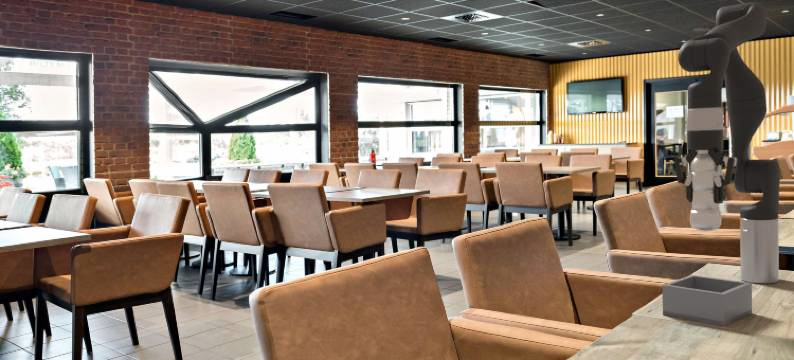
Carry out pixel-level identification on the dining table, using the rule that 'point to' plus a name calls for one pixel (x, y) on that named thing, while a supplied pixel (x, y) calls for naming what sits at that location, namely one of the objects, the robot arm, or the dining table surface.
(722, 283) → the box
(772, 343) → the dining table surface
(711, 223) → the plastic bottle
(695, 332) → the dining table surface
